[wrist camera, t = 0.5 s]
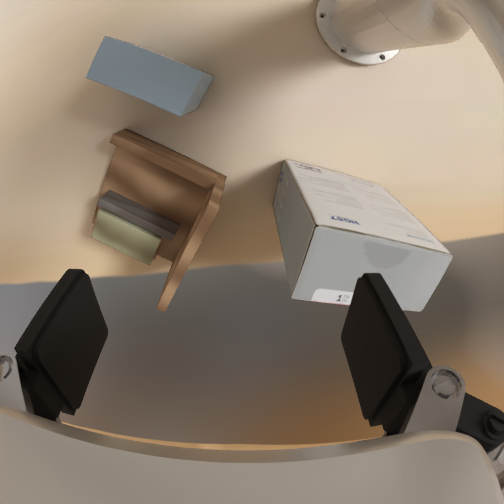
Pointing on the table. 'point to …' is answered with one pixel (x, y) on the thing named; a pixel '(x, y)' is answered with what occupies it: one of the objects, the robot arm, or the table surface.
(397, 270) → the hard drive box
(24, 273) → the table surface
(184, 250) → the shelf
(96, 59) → the book
